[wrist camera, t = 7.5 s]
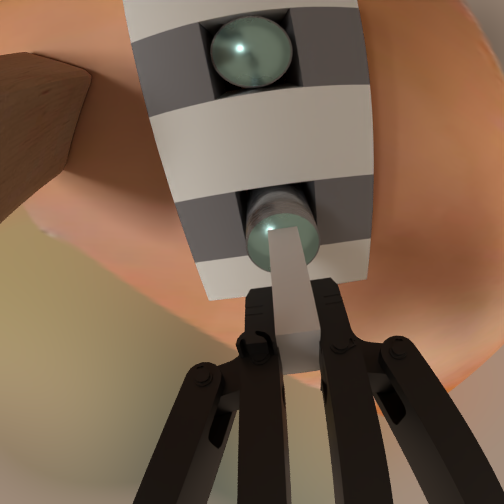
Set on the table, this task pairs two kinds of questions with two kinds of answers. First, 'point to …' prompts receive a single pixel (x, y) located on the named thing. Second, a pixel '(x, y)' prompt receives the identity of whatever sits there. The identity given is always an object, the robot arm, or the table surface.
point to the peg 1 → (251, 51)
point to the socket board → (260, 131)
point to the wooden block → (35, 122)
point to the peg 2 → (278, 221)
